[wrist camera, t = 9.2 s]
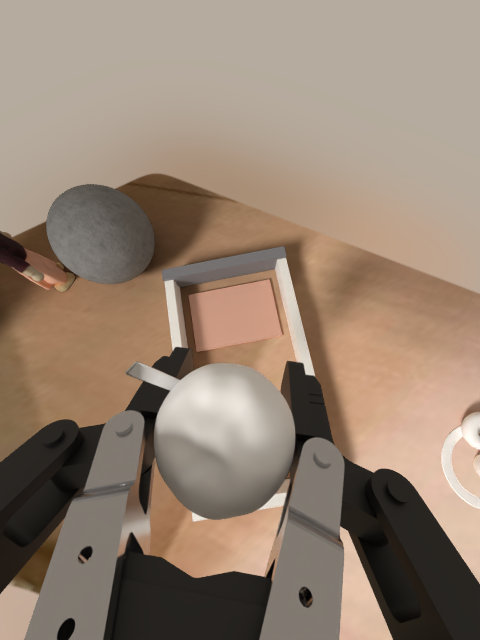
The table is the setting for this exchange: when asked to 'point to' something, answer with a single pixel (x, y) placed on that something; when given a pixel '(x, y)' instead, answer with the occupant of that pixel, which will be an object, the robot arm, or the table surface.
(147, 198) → the table surface
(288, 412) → the milkshake
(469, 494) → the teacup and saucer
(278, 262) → the tray
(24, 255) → the grandmother figurine
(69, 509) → the robot arm
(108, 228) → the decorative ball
